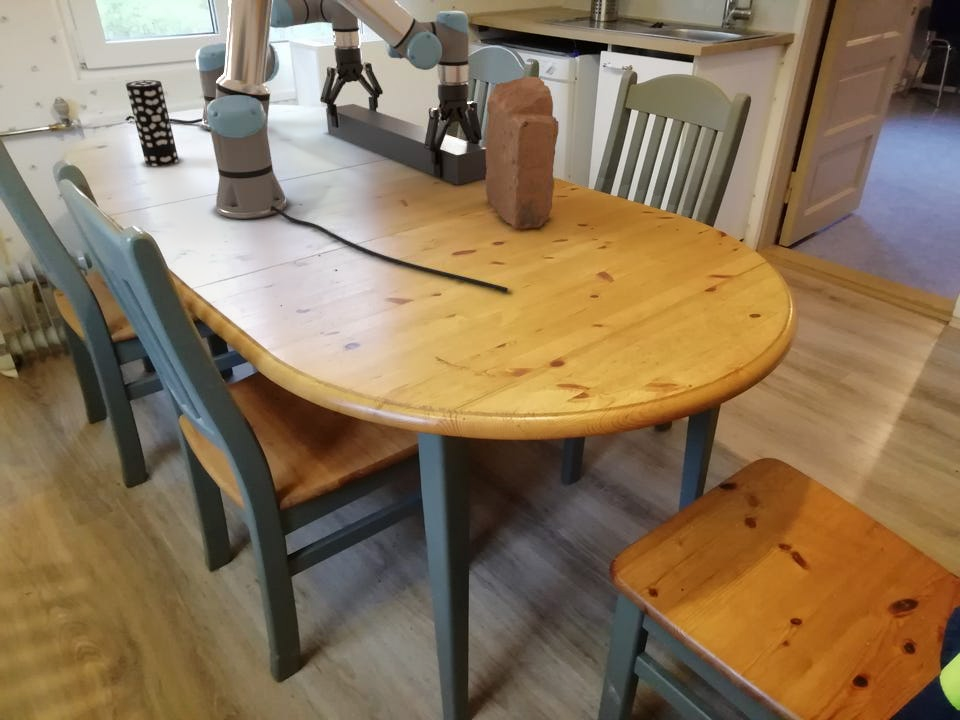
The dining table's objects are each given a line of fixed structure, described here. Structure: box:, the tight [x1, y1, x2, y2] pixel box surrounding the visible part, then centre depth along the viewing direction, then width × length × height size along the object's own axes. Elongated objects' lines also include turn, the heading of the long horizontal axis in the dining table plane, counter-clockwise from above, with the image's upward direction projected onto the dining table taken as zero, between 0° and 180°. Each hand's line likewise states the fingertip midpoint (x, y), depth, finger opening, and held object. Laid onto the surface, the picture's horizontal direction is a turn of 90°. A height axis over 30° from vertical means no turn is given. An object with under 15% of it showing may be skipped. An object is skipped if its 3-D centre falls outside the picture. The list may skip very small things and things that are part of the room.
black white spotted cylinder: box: [125, 79, 179, 167], centre depth 181 cm, size 8×8×20 cm
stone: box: [484, 76, 560, 230], centre depth 149 cm, size 22×11×28 cm, turn 18°
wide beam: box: [325, 103, 487, 186], centre depth 194 cm, size 63×10×8 cm, turn 41°
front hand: (454, 172), depth 180 cm, fingers closed on wide beam, 10 cm apart
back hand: (354, 123), depth 209 cm, fingers open, 13 cm apart
